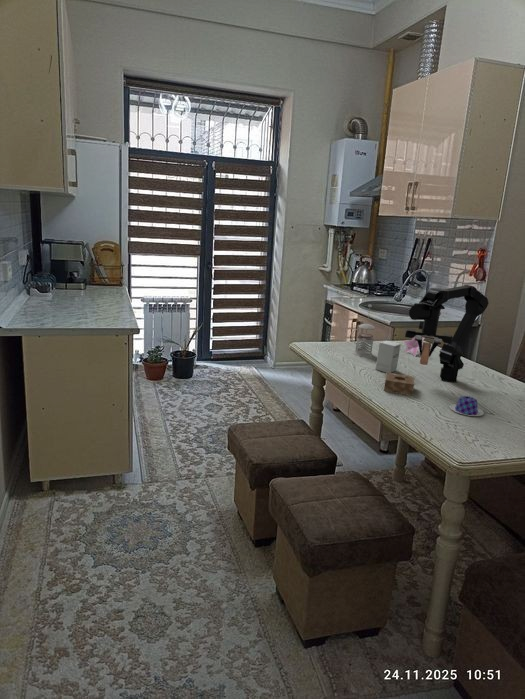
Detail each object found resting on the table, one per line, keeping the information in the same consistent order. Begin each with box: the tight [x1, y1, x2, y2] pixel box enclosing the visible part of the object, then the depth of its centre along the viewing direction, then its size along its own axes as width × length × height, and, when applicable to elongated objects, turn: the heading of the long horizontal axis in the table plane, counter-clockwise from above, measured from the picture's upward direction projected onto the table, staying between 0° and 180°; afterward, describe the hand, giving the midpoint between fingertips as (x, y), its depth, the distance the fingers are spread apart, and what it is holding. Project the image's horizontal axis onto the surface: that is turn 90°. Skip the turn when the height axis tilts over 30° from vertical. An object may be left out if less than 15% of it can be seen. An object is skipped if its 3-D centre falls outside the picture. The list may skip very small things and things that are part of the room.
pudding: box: [449, 395, 484, 417], centre depth 198 cm, size 12×12×5 cm
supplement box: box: [375, 340, 402, 374], centre depth 240 cm, size 7×7×13 cm
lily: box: [402, 337, 426, 357], centre depth 274 cm, size 12×12×10 cm
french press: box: [351, 304, 376, 358], centre depth 262 cm, size 10×12×25 cm
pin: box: [419, 341, 432, 366], centre depth 224 cm, size 3×3×9 cm
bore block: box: [383, 372, 415, 396], centre depth 216 cm, size 11×11×4 cm
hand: (425, 355), depth 225 cm, fingers closed on pin, 3 cm apart
